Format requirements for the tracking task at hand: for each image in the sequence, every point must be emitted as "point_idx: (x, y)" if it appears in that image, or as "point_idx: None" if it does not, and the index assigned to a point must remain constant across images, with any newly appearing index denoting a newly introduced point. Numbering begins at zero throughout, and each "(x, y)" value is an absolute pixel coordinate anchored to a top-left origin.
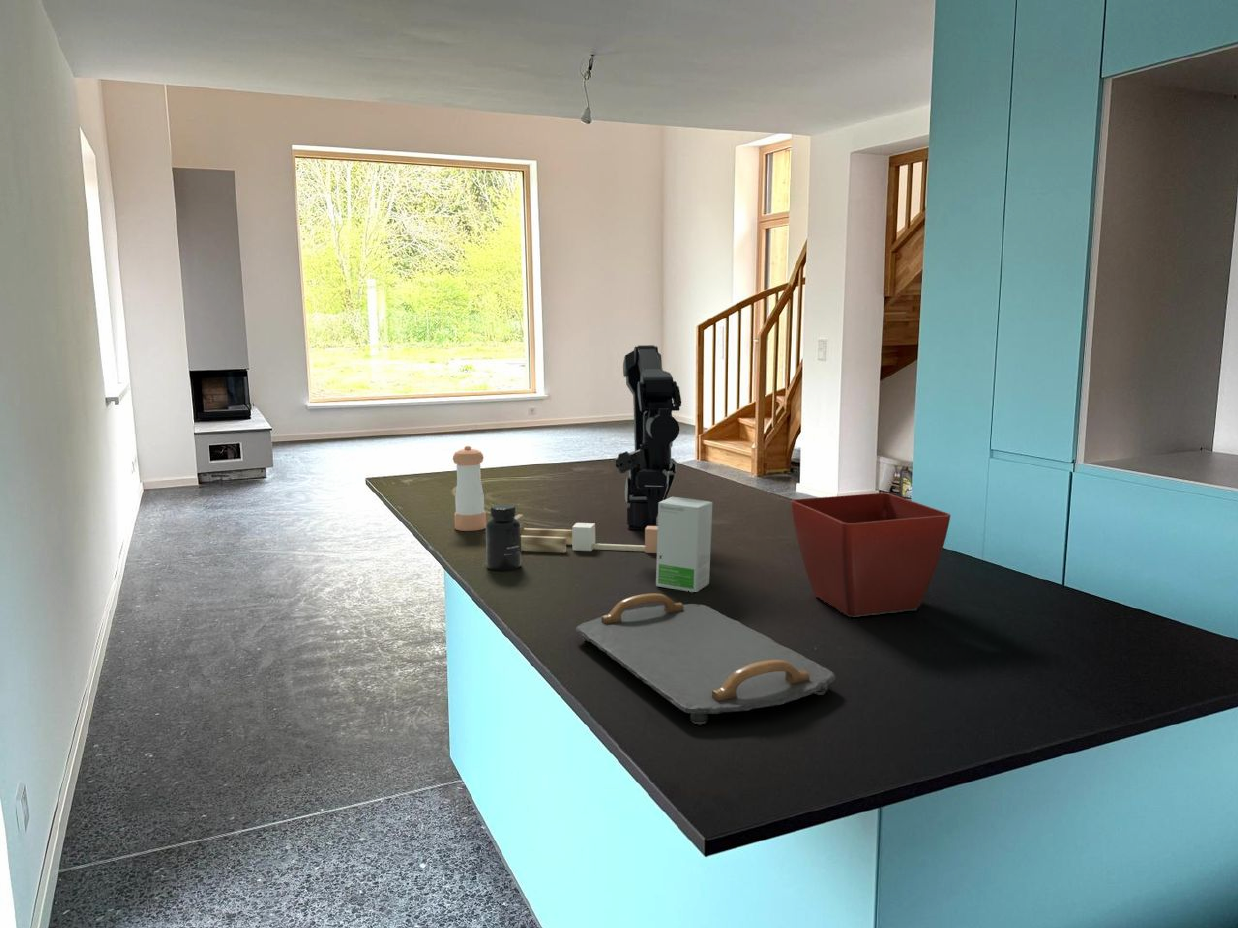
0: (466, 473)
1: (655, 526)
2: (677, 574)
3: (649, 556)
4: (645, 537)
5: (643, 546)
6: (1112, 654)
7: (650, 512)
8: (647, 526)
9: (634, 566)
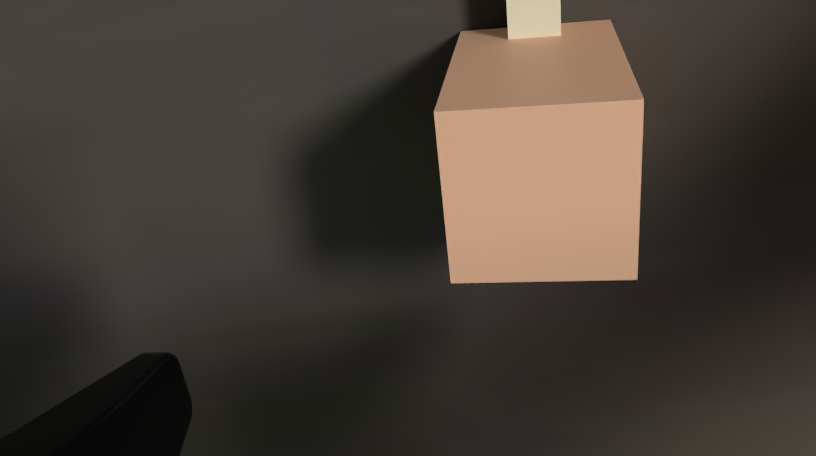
0: None
1: (617, 211)
2: None
3: (342, 100)
4: (446, 80)
5: (516, 10)
6: None
7: (72, 397)
8: (597, 110)
9: (2, 47)
